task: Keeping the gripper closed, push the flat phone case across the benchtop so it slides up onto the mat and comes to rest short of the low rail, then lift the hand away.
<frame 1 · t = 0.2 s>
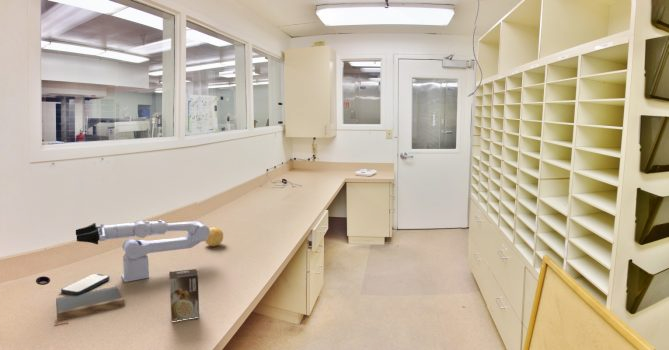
hand: (76, 235, 155), 21 cm above the worktop, tool horizontal, fingers open, 7 cm apart
stress ball: (213, 246, 211), on the worktop
phone case: (86, 286, 159), on the worktop, touching mat
mat: (90, 302, 146), on the worktop
coffee box: (184, 317, 139), on the worktop
back rail: (92, 311, 140), on the worktop
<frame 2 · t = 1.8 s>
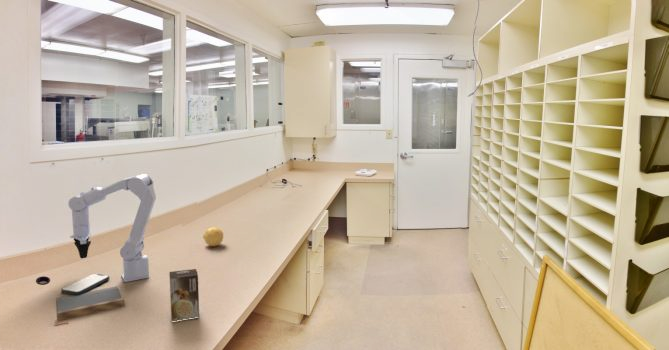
hand: (83, 255, 166), 9 cm above the worktop, tool pointing down, fingers open, 5 cm apart
nothing on the worktop moved.
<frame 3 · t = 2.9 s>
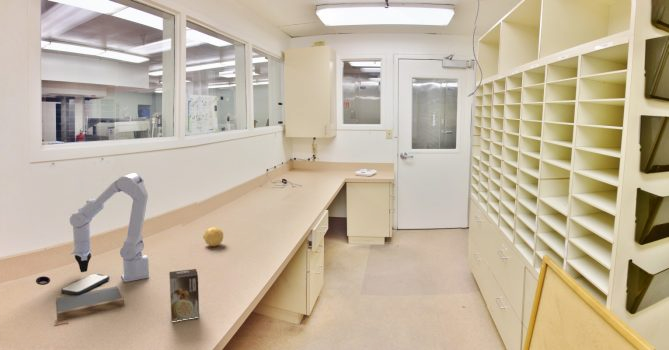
hand: (83, 271, 167), 3 cm above the worktop, tool pointing down, fingers closed
nothing on the worktop moved.
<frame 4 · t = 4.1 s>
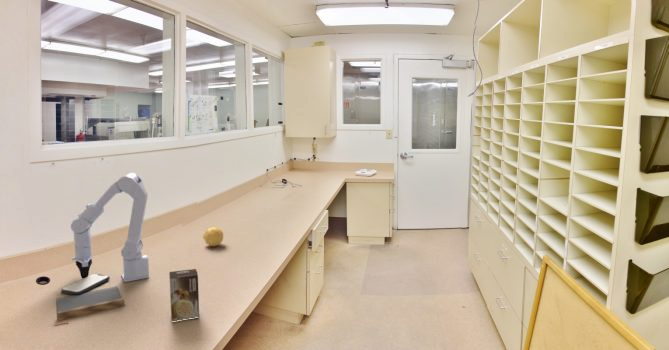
hand: (84, 277, 165), 1 cm above the worktop, tool pointing down, fingers closed
phone case: (86, 286, 159), on the worktop, touching gripper
everything else where it was.
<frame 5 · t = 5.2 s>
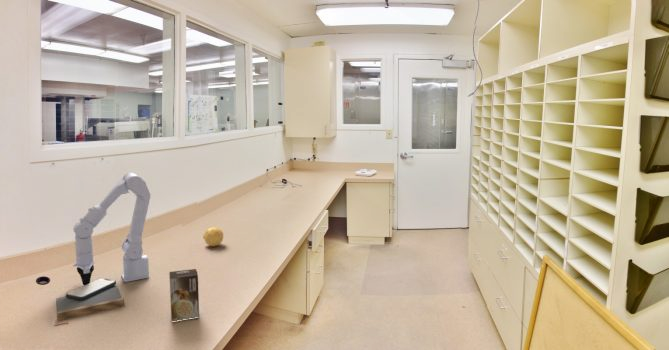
hand: (86, 284, 159), 1 cm above the worktop, tool pointing down, fingers closed
phone case: (92, 291, 155), resting on mat, touching gripper
everything else where it was.
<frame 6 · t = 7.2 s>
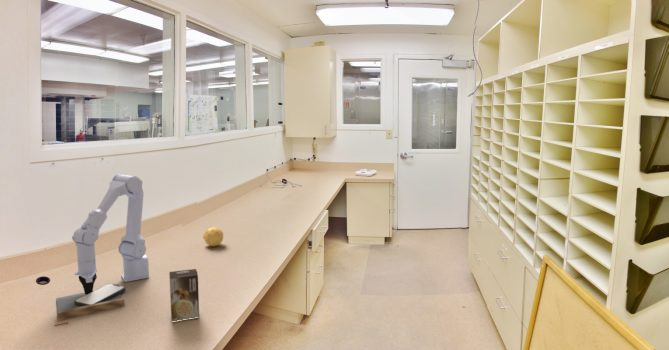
hand: (88, 293, 151), 1 cm above the worktop, tool pointing down, fingers closed
phone case: (101, 297, 150), resting on mat, touching gripper
everything else where it was.
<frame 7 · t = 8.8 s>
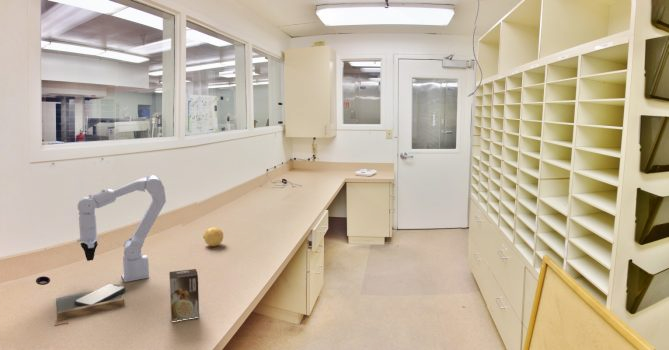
hand: (90, 259, 161), 10 cm above the worktop, tool pointing down, fingers closed
phone case: (101, 297, 150), resting on mat
everything else where it was.
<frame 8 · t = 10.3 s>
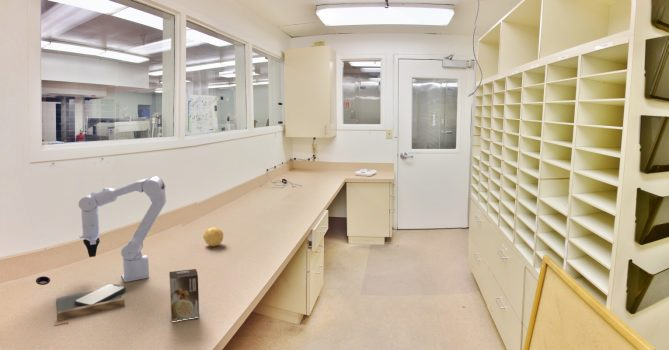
hand: (92, 256, 164), 10 cm above the worktop, tool pointing down, fingers closed
nothing on the worktop moved.
at the end: phone case inside the target area (4.2 cm from its centre), resting on mat; phone case tilted 0° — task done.
